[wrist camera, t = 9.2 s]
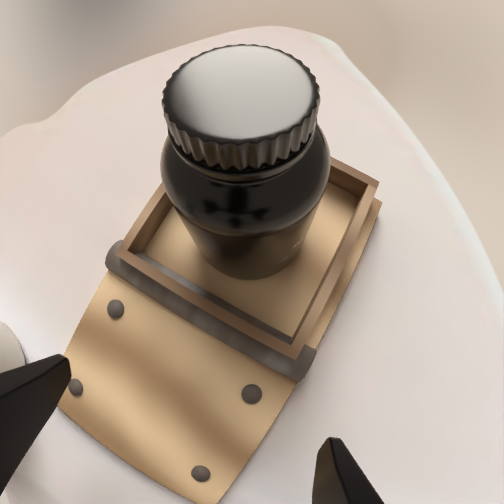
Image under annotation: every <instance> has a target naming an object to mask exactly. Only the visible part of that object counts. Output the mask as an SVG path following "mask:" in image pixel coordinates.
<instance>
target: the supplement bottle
mask: <svg viewBox="0 0 504 504" xmlns="http://www.w3.org/2000/svg"><path fill="white" fill-rule="evenodd" d="M319 104H320V95H319V85H318V84H317V83H316V78H315V76H314V75H313V74H311V73H310V69H309V68H308V67H306V66H305V65H303V63H302V61H300V60H298V59H296V58H294V57H293V56H292V55H291V54H288V53H284V52H283V51H281V50H279V49H273V48H271V47H268V46H259V45H255V44H252V45H245V44H239V45H227V46H224V47H220V48H214V49H212V50H210V51H206V52H202V53H201V54H199V55H198V56H195V57H192V58H191V59H190V60H189V61H188V62H186V63H184V64H182V65H181V66H180V67H179V69H178V70H176V71H175V72H173V74H172V77H171V78H170V79H169V80H168V81H167V82H166V88H165V89H164V90H163V99H162V107H163V110H164V117H165V120H166V122H167V125H168V136H167V138H166V141H165V143H164V146H163V150H162V154H161V162H160V168H161V178H162V182H163V185H164V188H165V190H166V193H167V195H168V197H169V199H170V201H171V203H172V205H173V206H174V208H175V210H176V212H177V213H178V215H179V217H180V219H181V220H182V222H183V224H184V225H185V227H186V229H187V230H188V232H189V234H190V236H191V237H192V239H193V241H194V242H195V244H196V246H197V247H198V249H199V251H200V252H201V254H202V255H203V256H204V258H205V259H206V260H207V262H208V263H209V264H210V265H211V266H213V267H214V268H215V269H216V270H218V271H219V272H221V273H222V274H224V275H227V276H229V277H232V278H235V279H240V280H259V279H264V278H267V277H270V276H273V275H275V274H277V273H279V272H280V271H282V270H283V269H284V268H286V267H287V266H288V265H289V264H290V263H291V262H292V261H293V260H294V258H295V257H296V256H297V254H298V252H299V251H300V249H301V247H302V245H303V242H304V240H305V238H306V235H307V233H308V230H309V228H310V226H311V223H312V221H313V218H314V216H315V214H316V211H317V209H318V206H319V204H320V201H321V199H322V196H323V194H324V191H325V189H326V186H327V182H328V178H329V174H330V164H331V160H330V151H329V147H328V143H327V141H326V138H325V136H324V134H323V132H322V130H321V128H320V127H319V125H318V123H317V113H318V109H319Z"/></svg>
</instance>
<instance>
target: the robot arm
mask: <svg viewBox="0 0 504 504" xmlns="http://www.w3.org/2000/svg"><path fill="white" fill-rule="evenodd" d="M71 377H72V373H71V367H70V361H69V359H68V358H67V357H65V356H63V355H61V354H56V355H53V356H50V357H47V358H44V359H41V360H38V361H35V362H32V363H29V364H26V365H23V366H20V367H17V368H14V369H11V370H8V371H5V372H2V373H0V496H1V494H2V492H3V491H4V489H5V487H6V485H7V483H8V482H9V480H10V478H11V477H12V475H13V473H14V472H15V470H16V469H17V467H18V465H19V464H20V462H21V461H22V459H23V457H24V456H25V454H26V453H27V451H28V450H29V448H30V446H31V445H32V443H33V442H34V440H35V439H36V437H37V436H38V434H39V433H40V431H41V430H42V428H43V427H44V425H45V424H46V422H47V421H48V419H49V418H50V416H51V415H52V413H53V412H54V410H55V408H56V407H57V405H58V403H59V401H60V399H61V397H62V395H63V393H64V392H65V390H66V388H67V386H68V384H69V382H70V380H71ZM312 504H384V502H383V501H382V499H381V498H380V496H379V495H378V493H377V492H376V491H375V489H374V488H373V486H372V485H371V483H370V482H369V480H368V479H367V477H366V476H365V474H364V473H363V471H362V470H361V468H360V467H359V465H358V464H357V462H356V461H355V459H354V458H353V456H352V455H351V453H350V452H349V450H348V449H347V447H346V446H345V444H344V443H343V441H342V440H341V439H340V438H334V437H329V438H327V439H326V441H325V442H324V444H323V445H322V447H321V448H320V449H319V451H318V454H317V461H316V469H315V476H314V484H313V492H312Z"/></svg>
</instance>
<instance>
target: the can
mask: <svg viewBox="0 0 504 504" xmlns="http://www.w3.org/2000/svg"><path fill="white" fill-rule="evenodd" d="M23 365H26V364H25V358H24V354H23V352H22V349H21V346H20V344H19V341H18V339H17V337H16V336H15V334H14V333H13V331H12V330H11V329H10V328H9V327H8V326H7V325H6V324H5V323H2V322H0V373H2V372H5V371H8V370H11V369H14V368H17V367H20V366H23Z"/></svg>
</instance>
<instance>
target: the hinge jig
mask: <svg viewBox="0 0 504 504" xmlns="http://www.w3.org/2000/svg"><path fill="white" fill-rule="evenodd" d="M330 160H331V164H330V174H329V178H328V182H327V186H326V189H325V191H324V194H323V196H322V199H321V201H320V204H319V206H318V209H317V211H316V214H315V216H314V218H313V221H312V223H311V226H310V228H309V230H308V233H307V235H306V238H305V240H304V242H303V245H302V247H301V249H300V251H299V252H298V254H297V256H296V257H295V258H294V260H293V261H292V262H291V263H290V264H289V265H288V266H287V267H286V268H284V269H283V270H282V271H280V272H279V273H277V274H275V275H273V276H270V277H267V278H264V279H259V280H240V279H235V278H232V277H229V276H227V275H224V274H222V273H221V272H219V271H218V270H216V269H215V268H214V267H213V266H211V265H210V264H209V263H208V262H207V260H206V259H205V258H204V256H203V255H202V254H201V252H200V251H199V249H198V247H197V246H196V244H195V242H194V241H193V239H192V237H191V236H190V234H189V232H188V230H187V229H186V227H185V225H184V224H183V222H182V220H181V219H180V217H179V215H178V213H177V212H176V210H175V208H174V206H173V205H172V203H171V201H170V199H169V197H168V195H167V193H166V190H165V188H164V185H163V182H162V183H161V184H160V186H159V187H158V189H157V190H156V192H155V193H154V194H153V196H152V197H151V199H150V200H149V202H148V203H147V205H146V206H145V208H144V209H143V211H142V212H141V214H140V215H139V217H138V218H137V220H136V221H135V223H134V224H133V226H132V227H131V229H130V231H129V232H128V234H127V235H126V237H125V238H124V240H120V241H118V242H116V243H115V244H114V245H113V246H112V247H111V248H110V250H109V252H108V254H107V256H106V260H105V264H106V267H107V268H108V269H109V270H108V271H107V273H106V275H105V277H104V278H103V280H102V282H101V284H100V285H99V287H98V289H97V291H96V293H95V294H94V296H93V298H92V300H91V302H90V304H89V305H88V307H87V309H86V311H85V313H84V315H83V317H82V319H81V321H80V323H79V325H78V327H77V329H76V331H75V333H74V335H73V337H72V339H71V341H70V343H69V345H68V347H67V349H66V351H65V353H64V355H63V356H65V357H67V358H68V359H69V361H70V367H71V373H72V377H71V380H70V382H69V384H68V386H67V388H66V390H65V392H64V393H63V395H62V397H61V399H60V401H59V403H58V405H57V406H58V407H59V408H60V409H61V410H62V411H63V412H64V413H65V414H67V415H68V416H69V417H70V418H71V419H72V420H73V421H74V422H76V423H77V424H78V425H79V426H80V427H81V428H83V429H84V430H85V431H86V432H87V433H89V434H90V435H91V436H92V437H94V438H95V439H96V440H97V441H99V442H100V443H101V444H102V445H104V446H105V447H106V448H108V449H109V450H110V451H112V452H113V453H114V454H116V455H117V456H119V457H120V458H121V459H123V460H124V461H126V462H127V463H129V464H130V465H132V466H133V467H135V468H136V469H138V470H139V471H141V472H142V473H144V474H145V475H147V476H148V477H150V478H152V479H153V480H155V481H157V482H158V483H160V484H162V485H163V486H165V487H167V488H169V489H170V490H172V491H174V492H176V493H177V494H179V495H181V496H183V497H185V498H187V499H189V500H191V501H193V502H195V503H196V504H217V503H218V501H219V500H220V499H221V498H222V496H223V495H224V494H225V492H226V491H227V489H228V488H229V487H230V485H231V484H232V483H233V481H234V480H235V478H236V477H237V476H238V474H239V473H240V471H241V470H242V469H243V467H244V466H245V464H246V463H247V461H248V460H249V458H250V457H251V456H252V454H253V453H254V451H255V450H256V448H257V447H258V445H259V444H260V442H261V441H262V439H263V437H264V436H265V434H266V433H267V431H268V430H269V428H270V427H271V425H272V423H273V422H274V420H275V419H276V417H277V415H278V414H279V412H280V410H281V409H282V407H283V405H284V404H285V402H286V400H287V399H288V397H289V395H290V394H291V392H292V390H293V389H294V387H295V385H296V383H297V382H300V381H301V380H302V378H303V377H304V376H305V374H306V373H307V371H308V370H309V368H310V366H311V364H312V362H313V360H314V357H315V354H316V347H317V345H318V343H319V342H320V340H321V338H322V336H323V334H324V332H325V330H326V328H327V326H328V324H329V322H330V320H331V318H332V316H333V314H334V312H335V310H336V308H337V306H338V304H339V302H340V300H341V298H342V296H343V293H344V291H345V289H346V287H347V285H348V283H349V281H350V278H351V276H352V274H353V272H354V270H355V267H356V265H357V263H358V261H359V258H360V256H361V254H362V251H363V249H364V247H365V244H366V242H367V240H368V237H369V235H370V232H371V230H372V228H373V225H374V223H375V220H376V218H377V215H378V212H379V210H380V207H381V205H382V202H381V201H379V200H377V199H375V198H374V195H375V192H376V190H377V187H378V185H379V181H377V180H375V179H373V178H371V177H370V176H368V175H366V174H364V173H362V172H360V171H358V170H356V169H354V168H352V167H350V166H348V165H346V164H344V163H342V162H340V161H338V160H336V159H334V158H332V157H330Z"/></svg>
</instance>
